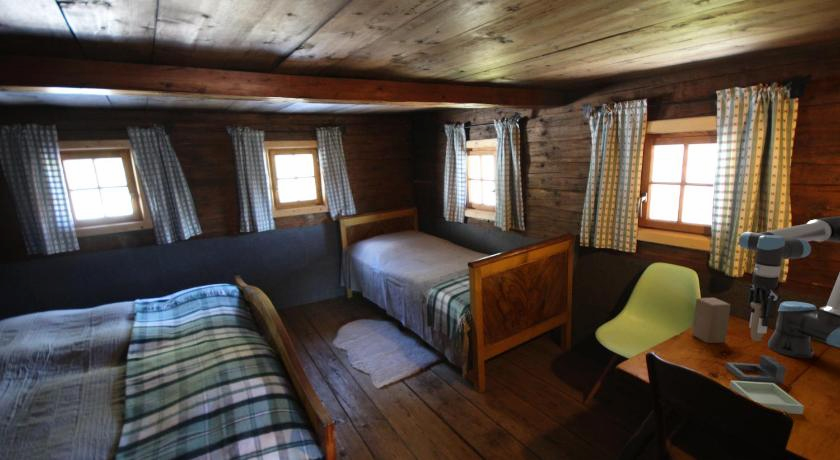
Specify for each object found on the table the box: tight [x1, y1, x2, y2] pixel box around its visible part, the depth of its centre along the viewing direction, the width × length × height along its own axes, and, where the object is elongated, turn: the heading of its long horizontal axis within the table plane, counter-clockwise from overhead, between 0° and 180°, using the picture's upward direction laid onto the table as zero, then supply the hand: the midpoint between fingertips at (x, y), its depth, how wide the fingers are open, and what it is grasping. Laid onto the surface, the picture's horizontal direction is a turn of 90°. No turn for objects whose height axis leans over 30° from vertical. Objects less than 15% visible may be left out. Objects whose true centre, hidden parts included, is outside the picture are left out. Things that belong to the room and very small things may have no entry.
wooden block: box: [691, 297, 732, 344], centre depth 186 cm, size 10×10×20 cm
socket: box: [725, 355, 787, 385], centre depth 156 cm, size 15×11×7 cm
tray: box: [729, 380, 805, 415], centre depth 141 cm, size 15×14×3 cm
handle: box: [750, 302, 765, 342], centre depth 152 cm, size 5×6×15 cm
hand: (757, 330), depth 153 cm, fingers closed on handle, 4 cm apart
